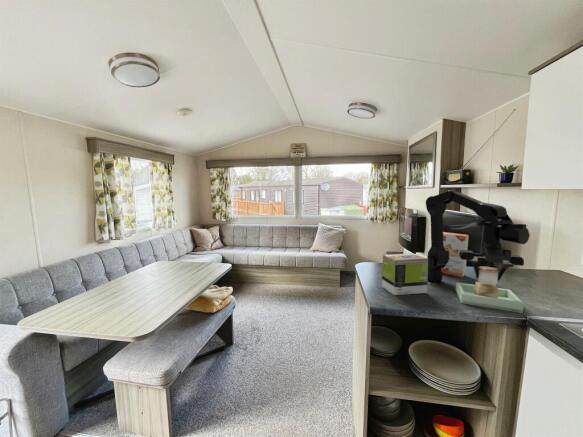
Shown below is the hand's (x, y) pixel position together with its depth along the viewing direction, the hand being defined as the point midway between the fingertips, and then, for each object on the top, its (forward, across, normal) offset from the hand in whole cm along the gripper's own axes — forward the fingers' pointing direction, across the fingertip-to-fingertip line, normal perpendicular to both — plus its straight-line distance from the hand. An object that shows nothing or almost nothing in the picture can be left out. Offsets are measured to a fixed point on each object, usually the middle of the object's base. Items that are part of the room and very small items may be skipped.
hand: (487, 279), depth 97 cm
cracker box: (+9, -9, +33) cm, 35 cm away
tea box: (+9, -29, -3) cm, 30 cm away
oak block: (+7, 0, 0) cm, 7 cm away
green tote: (+8, 0, 0) cm, 8 cm away
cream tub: (+1, 0, 0) cm, 1 cm away
